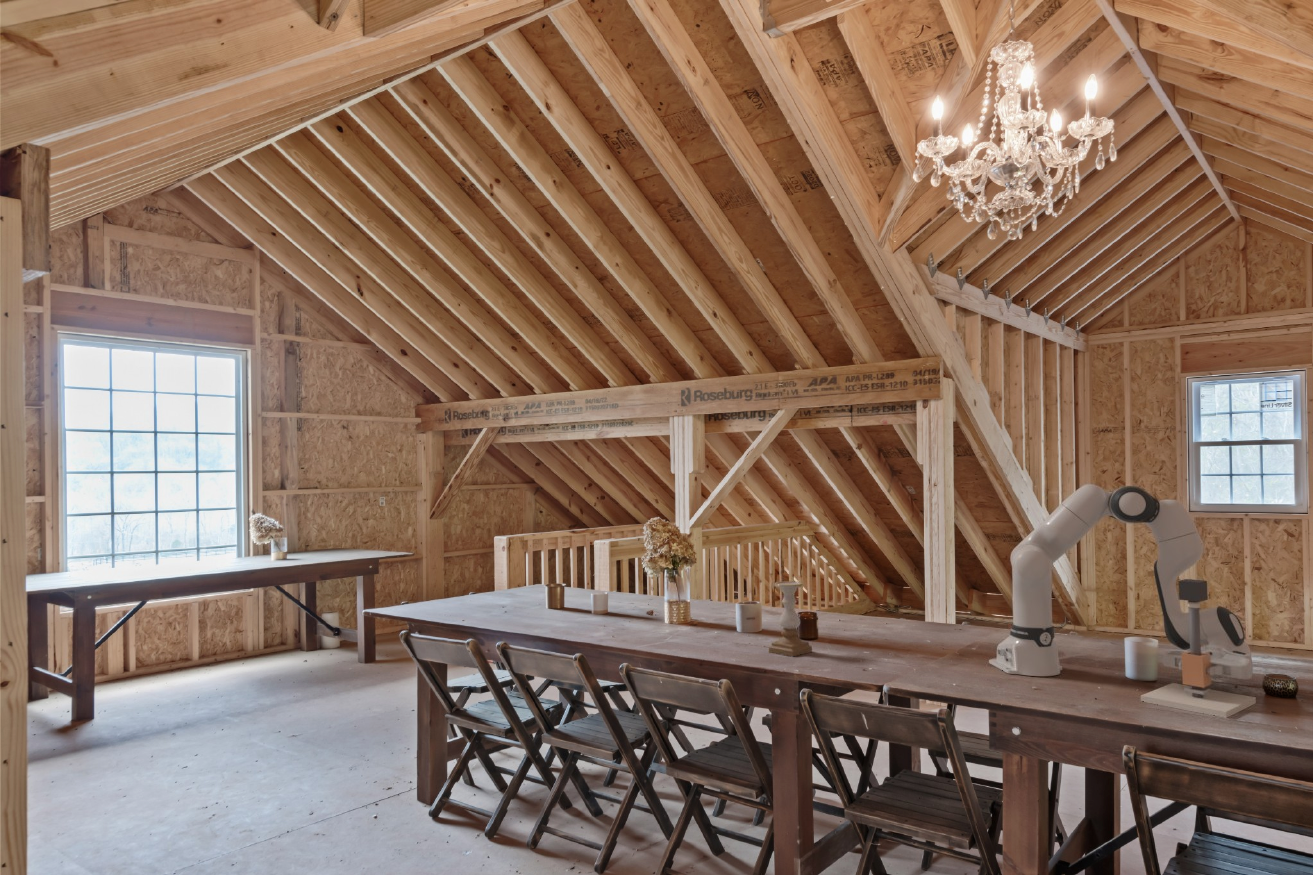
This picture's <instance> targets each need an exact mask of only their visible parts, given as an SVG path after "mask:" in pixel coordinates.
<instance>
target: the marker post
mask: <svg viewBox="0 0 1313 875" xmlns="http://www.w3.org/2000/svg"><path fill="white" fill-rule="evenodd" d="M1208 598H1209V597H1208V581H1207V580H1204V579H1203V580H1202V579H1189V578H1187V579H1186V578H1185V579H1181V580H1178V599H1179V601H1187V608H1188V612H1189V632H1190V649H1189V651H1190V654H1192V655H1199V656H1201V648H1202V646H1201V640H1200V617H1199V610H1200V608H1201V606H1200V604H1201V602H1204V601H1208ZM1142 701H1144V702H1143V703H1148V704H1154V705H1157V704H1158V706H1162V707H1167V708H1168V707H1169V708H1173V709H1178V710H1184V711H1189V712H1194V713H1198V714H1203V713H1204V715H1209V716H1213V715H1215V716H1214V717H1219V718H1224V719H1227V718H1229V717H1231V716H1233V715H1235V714H1237V713H1239V712H1241V711H1243V710H1245V709H1247V708H1249V707H1251V706H1253V705H1255V704H1256V703H1257V698H1256V697H1254V696H1250V695H1249V696H1248V695H1244V694H1240V693H1231V692H1225V691H1221V690H1215V689H1211V688H1207V687H1204V688H1203V687H1197V686H1192V685H1186V684H1183V683H1182V684H1181V683H1176V682H1171V683H1169V684H1166V685H1164V686H1161V687H1159V688H1156V689H1154V690H1152V691H1148V692H1146V693H1144V694H1142V695H1140V702H1142Z"/></svg>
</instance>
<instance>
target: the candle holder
mask: <svg viewBox="0 0 1313 875" xmlns="http://www.w3.org/2000/svg"><path fill="white" fill-rule="evenodd" d="M773 586H774V587H775V588H779V589H780V590H781V592H782V593H783V598H782V600H781V603H782V604H783V606H784V609H783V612H782V613H781V615H780V617H779V619H778V624H779V626H781V628H782V629H781V631H780V633H781V635H782V637H780V638H779V639H778V640H776V641H772V643H771V645H770V646H768V653H771V654H775V653H776V654H777V655H780V654H783V655H782V656H785V655H786V657H791V656H795V657H798V656H797V655H799V656H801V655H800V654H803V655H806V654H809V653H812V652H813V647H812V645H810V644H809V642H808V641H806V640H805V641H804V640H802V639H801V638H800V637H798V635H799V633H800V631H799V630H798V629H797V628H798V627H799V626H800V625H801V619H800V616H799V615H798V613H797V612H796V609H795V606H796V603H797V600H796V598H795V593H796V592H797V589H798V588H802V587H804V583H803V582H800V581H788V580H785V581H784V580H783V581H776V582H774V583H773ZM805 653H806V654H805Z"/></svg>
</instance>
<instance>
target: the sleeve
mask: <svg viewBox="0 0 1313 875" xmlns="http://www.w3.org/2000/svg"><path fill="white" fill-rule="evenodd" d="M1183 652H1184V653H1182V654H1181V655H1182V670H1181V673H1182V674H1181V677H1182V685H1188V686H1191V685H1192V686H1197V687H1203V688H1207V687H1209V686H1211V685H1212V678H1211V675H1208V674H1206V667H1211V662H1210V654H1208V653H1201V656H1199V655H1192V654H1190V650H1187V651H1183Z"/></svg>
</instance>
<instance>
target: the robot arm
mask: <svg viewBox="0 0 1313 875" xmlns="http://www.w3.org/2000/svg"><path fill="white" fill-rule="evenodd" d="M1106 517H1110V518H1112V519H1114V520H1117V521H1118V522H1121V523H1123V524H1124V523H1125V524H1136V523H1137V524H1139V523H1141V524H1142V523H1143V524H1145V525H1146V526H1147V527H1148V528H1149V529H1150V531H1151V533H1152V535H1153V537H1154V540H1155V543H1156V546H1157V549H1158V557H1157V560H1156V561H1155V562H1154V564H1153V573H1154V580H1155V584H1156V589H1157V595H1158V598H1159V602H1160V607H1161V611H1162V618H1163V628H1164V633H1165V637H1166V639H1167V640H1168V642H1169V643H1170V644H1172V645H1173V646H1175V647H1176V648H1179V649H1180V650H1174V651H1173V650H1172V651H1168V652H1163V654H1162V665H1163V666H1164V667H1165V668H1172V669H1176V670H1177V669H1178V670H1180V671H1182V655H1181V654H1182V653H1184V652H1185V651H1186V650H1187V651H1188V650H1190V632H1189V611H1188V612H1184V611H1183V610H1182V607H1181V603H1180V600H1179V593H1178V590H1177V586H1176V584H1177V579H1178V578H1179V577H1180V576H1181V575H1183V573H1184V572H1186V571H1187V570H1188V569H1190V568H1192V567H1193V566H1195V565H1196V563H1198V562H1199V560H1200V559H1201V558H1202V556H1203V553H1204V549H1205V548H1204V543H1203V540H1202V538H1201V535H1200V533H1199V531H1198V528H1197V526H1196V524H1195V522H1194V520H1193V518H1192V517H1191V514H1189V512H1188V510H1187V509H1186V508H1185V506H1184V505H1183V504H1182V502H1181V501H1178V500H1177V499H1168V498H1167V499H1162V500H1161V499H1160V500H1158V499H1157V498H1155V497H1154V496H1153V495H1152V494H1150V493H1149V492H1148V491H1147V490H1145V489H1143V488H1141V487H1139V486H1134V485H1125V486H1121V487H1119V488H1117V489H1115V490H1111V491H1107V490H1105V489H1104V488H1103V487H1101V486H1099V485H1097V484H1093V483H1087V484H1083V485H1082V486H1080V487H1079V488H1078V489H1076V490H1075V491H1074V492H1072V493H1071V494H1070V495H1069V496H1067V497H1066V498H1065V499H1064V500H1063V501H1062V502H1061V503H1060V504H1059V505H1058V506H1057V507H1056V508H1055V509H1054V510H1053V511H1052V512H1051V514H1049V515H1048V516H1047V517H1046V519H1044V520H1043V521H1042V522H1041V523H1040V524H1039V525H1038V526H1036V528H1034V530H1032V531H1031V532H1030V533H1029V534H1028V535H1026V536H1025V538H1024V539H1022V540H1021V541H1020V542H1019V543H1018V544H1017V545H1016V546H1015V547H1014V548H1013V549H1012V551H1011V553H1010V556H1009V557H1010V560H1009V561H1010V563H1011V570H1012V572H1011V573H1012V574H1011V577H1012V598H1011V599H1012V619H1013V620H1012V622H1013V623H1012V624H1007V625H1008V629H1010V631H1009V635H1008V636H1007V637H1006V638H1005V639H1003V641H1002V642H1000V643H999V644H998V645H997V647H996V657H994V658H991V659H989V660H988V664H990V665H992V666H994V667H996V668H997V669H998V670H1001V671H1002V670H1003V672H1005V673H1006V674H1010V675H1011V674H1012V675H1023V676H1033V677H1053V676H1054V677H1055V676H1057V675H1060V674H1061V671H1062V670H1063V666H1062V665H1060V660H1059V652H1058V645H1057V643H1056V641H1055V640H1054V638H1055V633H1056V632H1055V626H1054V625H1053V608H1052V607H1053V605H1052V602H1053V601H1052V597H1053V595H1052V594H1053V564H1055V562H1056V561H1057V560H1058V559H1060V558H1061V557H1062V556H1063V555H1065V554H1066V553H1067V552H1068V551H1070V550H1071V549H1073V548H1074V547H1075V545H1077V544H1078V542H1079V541H1081V540H1082V539H1084V537H1085V536H1086V534H1088V533H1089V532H1090V531H1091V530H1092V529H1093V528H1094V527H1095V525H1096V524H1098V523H1099V522H1100V521H1102V519H1104V518H1106ZM1199 617H1200V640H1201V653H1208V654H1210V662H1211V667H1206V674H1208V675H1211V679H1229V678H1232V679H1239V680H1245V681H1246V680H1250V679H1251V680H1252V678H1253V673H1254V672H1253V670H1254V669H1253V668H1254V667H1253V665H1254V664H1253V658H1252V650H1251V648H1250V647H1249V644H1248V643H1247V642H1246V641H1245V635H1246V634H1245V631H1244V626H1243V624H1242V622H1241V621H1240V619H1239V617H1238V616H1237V615H1236V614H1235V613H1234V612H1232V611H1230V610H1229V609H1228V608H1226V607H1224V606H1221V605H1219V606H1214V607H1209V608H1203V609H1199ZM1202 646H1203V647H1202ZM1182 650H1184V651H1182Z"/></svg>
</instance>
